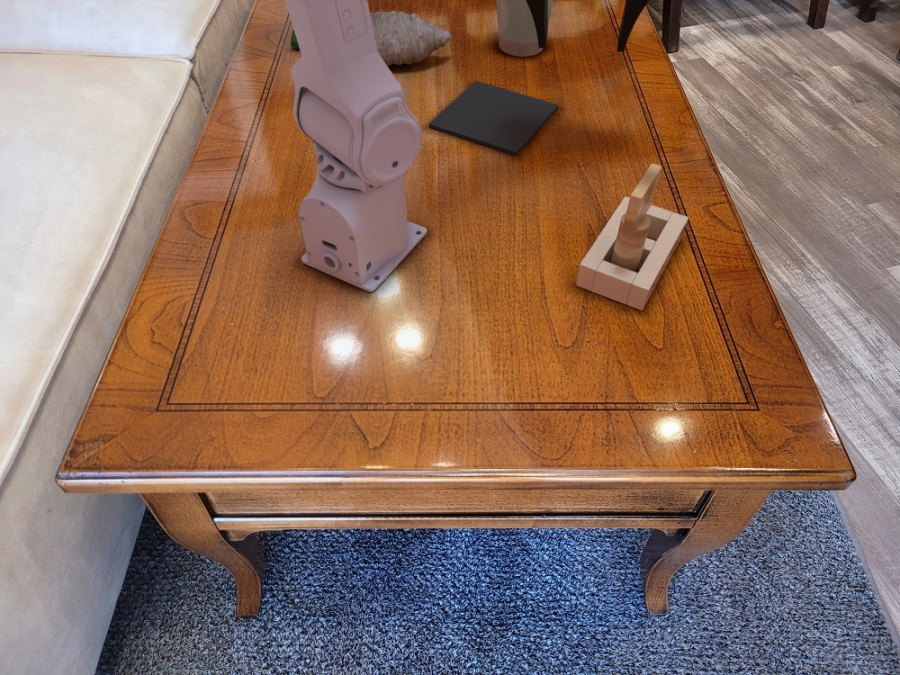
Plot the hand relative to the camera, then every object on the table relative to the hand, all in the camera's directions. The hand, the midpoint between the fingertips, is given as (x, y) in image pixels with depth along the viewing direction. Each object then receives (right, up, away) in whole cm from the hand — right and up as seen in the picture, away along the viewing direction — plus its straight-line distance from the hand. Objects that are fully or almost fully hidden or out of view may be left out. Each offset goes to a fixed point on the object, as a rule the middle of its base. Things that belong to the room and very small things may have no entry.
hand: (581, 44), depth 67 cm
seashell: (-20, +6, +19) cm, 28 cm away
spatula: (+2, -24, -7) cm, 25 cm away
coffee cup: (-4, +9, +22) cm, 24 cm away
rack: (+4, -22, -5) cm, 23 cm away
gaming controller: (-29, +10, +22) cm, 38 cm away
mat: (-8, -4, +10) cm, 14 cm away
